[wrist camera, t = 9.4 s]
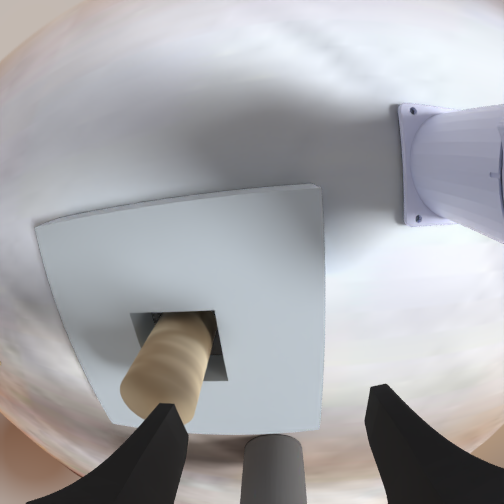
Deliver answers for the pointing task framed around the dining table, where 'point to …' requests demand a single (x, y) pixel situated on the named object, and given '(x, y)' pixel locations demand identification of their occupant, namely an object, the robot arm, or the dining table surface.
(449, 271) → the dining table surface
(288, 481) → the bottle
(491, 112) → the robot arm
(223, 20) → the dining table surface
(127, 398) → the peg
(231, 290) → the socket block
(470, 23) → the dining table surface
